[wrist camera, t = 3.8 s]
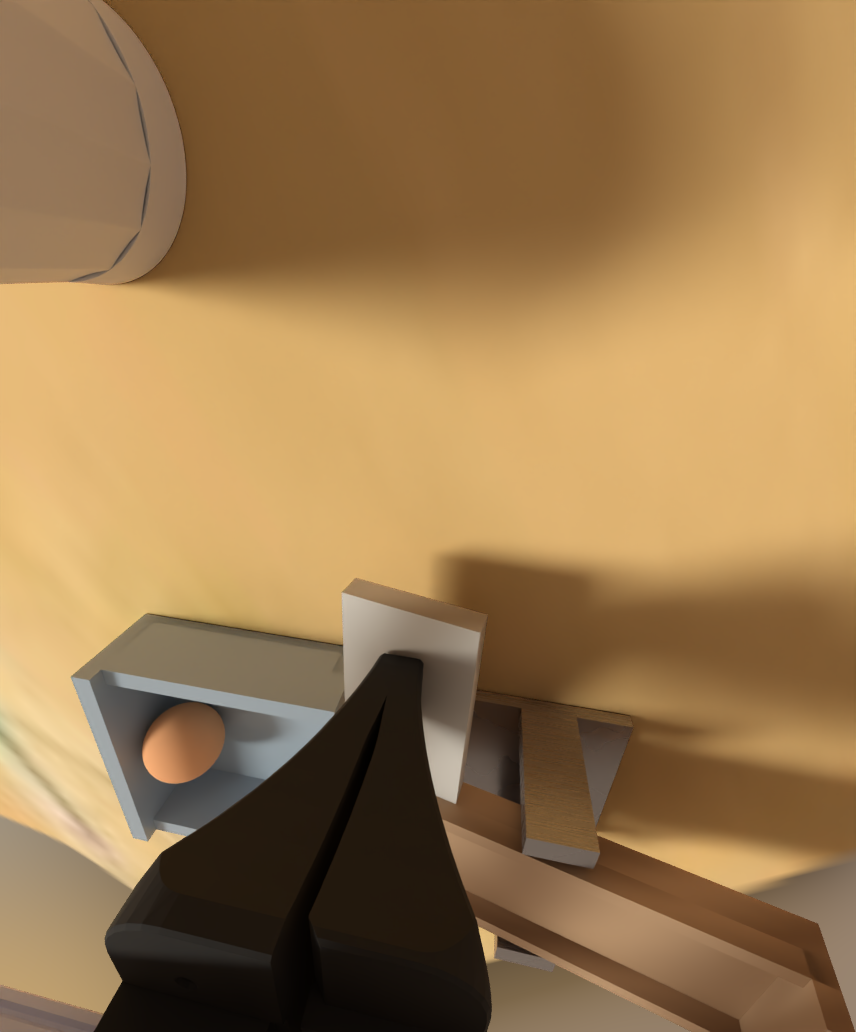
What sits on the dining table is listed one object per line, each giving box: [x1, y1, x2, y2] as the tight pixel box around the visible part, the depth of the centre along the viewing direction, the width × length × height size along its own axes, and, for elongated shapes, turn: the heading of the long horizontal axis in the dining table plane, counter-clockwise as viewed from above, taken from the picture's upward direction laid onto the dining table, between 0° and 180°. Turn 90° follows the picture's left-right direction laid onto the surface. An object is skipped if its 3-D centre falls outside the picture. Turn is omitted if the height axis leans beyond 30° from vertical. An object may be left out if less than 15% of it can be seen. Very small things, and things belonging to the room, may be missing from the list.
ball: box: [142, 702, 225, 784], centre depth 18 cm, size 3×3×3 cm
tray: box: [71, 614, 345, 841], centre depth 18 cm, size 9×9×4 cm
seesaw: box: [342, 578, 855, 1032], centre depth 13 cm, size 14×12×2 cm
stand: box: [463, 690, 633, 972], centre depth 16 cm, size 6×7×5 cm
